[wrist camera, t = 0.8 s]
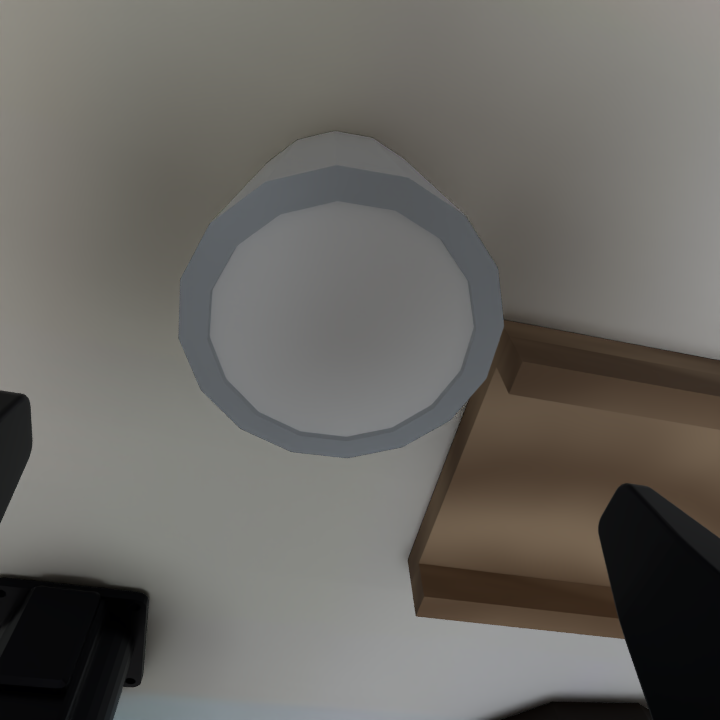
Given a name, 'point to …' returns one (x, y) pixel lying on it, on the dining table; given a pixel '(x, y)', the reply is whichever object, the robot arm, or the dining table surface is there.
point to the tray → (561, 477)
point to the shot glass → (340, 302)
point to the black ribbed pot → (585, 711)
